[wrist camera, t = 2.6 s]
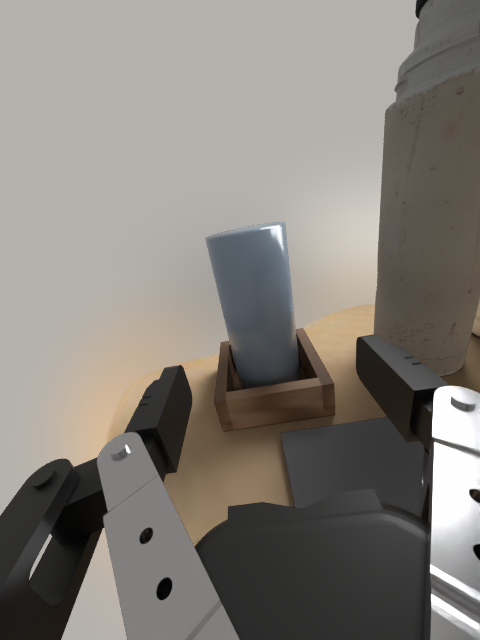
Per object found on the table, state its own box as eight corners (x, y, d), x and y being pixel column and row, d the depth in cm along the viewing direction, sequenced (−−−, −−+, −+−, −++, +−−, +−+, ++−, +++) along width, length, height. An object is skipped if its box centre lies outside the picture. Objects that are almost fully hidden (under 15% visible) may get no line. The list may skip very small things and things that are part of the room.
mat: (404, 419, 19) (405, 414, 19) (553, 606, 10) (559, 600, 10) (281, 437, 20) (280, 432, 20) (318, 628, 11) (318, 623, 11)
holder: (305, 352, 30) (303, 328, 29) (335, 414, 21) (334, 383, 20) (226, 365, 31) (220, 342, 29) (223, 431, 22) (214, 402, 20)
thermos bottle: (446, 335, 28) (517, -21, 16) (479, 380, 21) (636, -160, 10) (369, 334, 31) (382, 34, 19) (377, 374, 25) (404, -44, 13)
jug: (289, 350, 31) (273, 219, 25) (308, 403, 23) (293, 224, 16) (240, 358, 32) (212, 231, 25) (242, 413, 23) (200, 243, 17)
